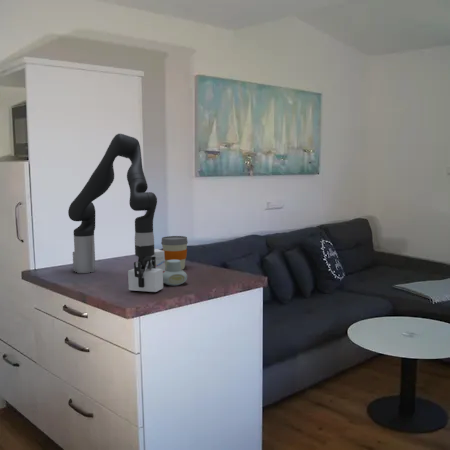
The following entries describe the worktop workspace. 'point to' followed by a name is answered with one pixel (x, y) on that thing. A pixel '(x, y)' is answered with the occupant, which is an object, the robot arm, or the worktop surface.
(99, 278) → the worktop surface
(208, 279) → the worktop surface
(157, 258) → the ink box
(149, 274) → the white rectangular block
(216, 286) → the worktop surface
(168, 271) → the air freshener
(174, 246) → the reusable coffee cup
